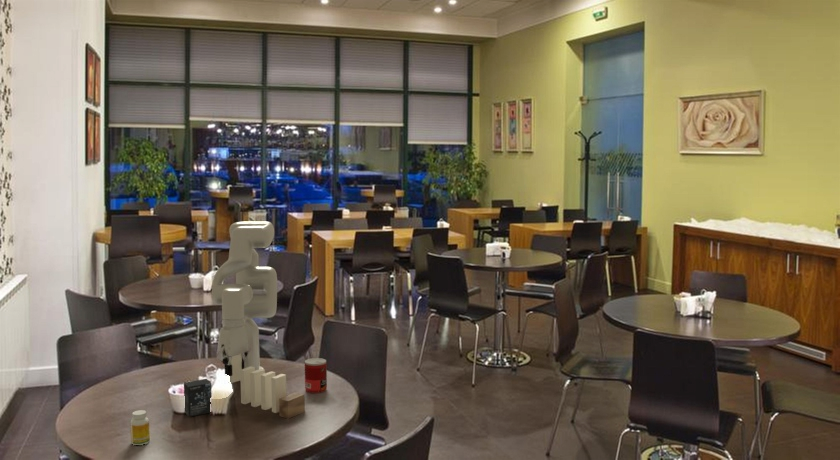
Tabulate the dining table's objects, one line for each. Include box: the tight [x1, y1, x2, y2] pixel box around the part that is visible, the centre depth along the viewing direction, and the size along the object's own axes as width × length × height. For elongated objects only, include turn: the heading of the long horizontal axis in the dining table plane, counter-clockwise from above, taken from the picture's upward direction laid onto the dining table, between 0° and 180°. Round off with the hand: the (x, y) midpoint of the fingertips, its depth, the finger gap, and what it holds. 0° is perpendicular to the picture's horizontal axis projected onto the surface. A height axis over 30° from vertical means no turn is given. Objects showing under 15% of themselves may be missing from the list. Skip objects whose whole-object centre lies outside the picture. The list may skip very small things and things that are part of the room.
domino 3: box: [250, 369, 266, 408], centre depth 265 cm, size 2×5×12 cm, turn 146°
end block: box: [278, 391, 306, 419], centre depth 257 cm, size 4×8×6 cm, turn 146°
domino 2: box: [240, 366, 255, 405], centre depth 268 cm, size 2×5×12 cm, turn 146°
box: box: [183, 378, 212, 418], centre depth 257 cm, size 8×6×11 cm
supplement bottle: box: [129, 409, 151, 446], centre depth 232 cm, size 5×5×10 cm
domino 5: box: [271, 373, 287, 414], centre depth 260 cm, size 2×5×12 cm, turn 146°
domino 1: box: [227, 354, 242, 384], centre depth 270 cm, size 2×5×12 cm, turn 146°
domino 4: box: [260, 371, 276, 411], centre depth 262 cm, size 2×5×12 cm, turn 146°
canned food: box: [304, 357, 328, 394], centre depth 281 cm, size 8×8×11 cm
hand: (234, 372), depth 271 cm, fingers closed on domino 1, 4 cm apart
